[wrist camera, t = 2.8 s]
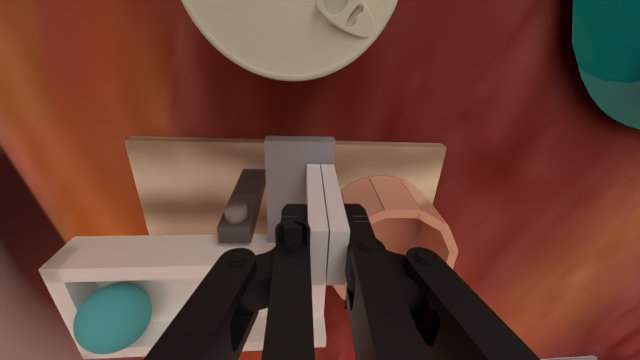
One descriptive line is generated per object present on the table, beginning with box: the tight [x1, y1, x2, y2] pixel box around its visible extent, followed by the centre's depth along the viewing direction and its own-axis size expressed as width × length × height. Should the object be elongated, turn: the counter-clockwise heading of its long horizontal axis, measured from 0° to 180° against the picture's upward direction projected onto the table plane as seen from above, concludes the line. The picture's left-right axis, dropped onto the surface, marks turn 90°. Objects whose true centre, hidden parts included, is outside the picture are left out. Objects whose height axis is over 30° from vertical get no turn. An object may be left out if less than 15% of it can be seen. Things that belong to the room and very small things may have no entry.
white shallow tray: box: [38, 136, 336, 359], centre depth 18 cm, size 15×16×3 cm
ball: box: [73, 283, 152, 354], centre depth 18 cm, size 4×4×4 cm
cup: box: [333, 175, 458, 300], centre depth 26 cm, size 10×10×6 cm
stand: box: [124, 136, 447, 243], centre depth 25 cm, size 15×28×10 cm, turn 87°
